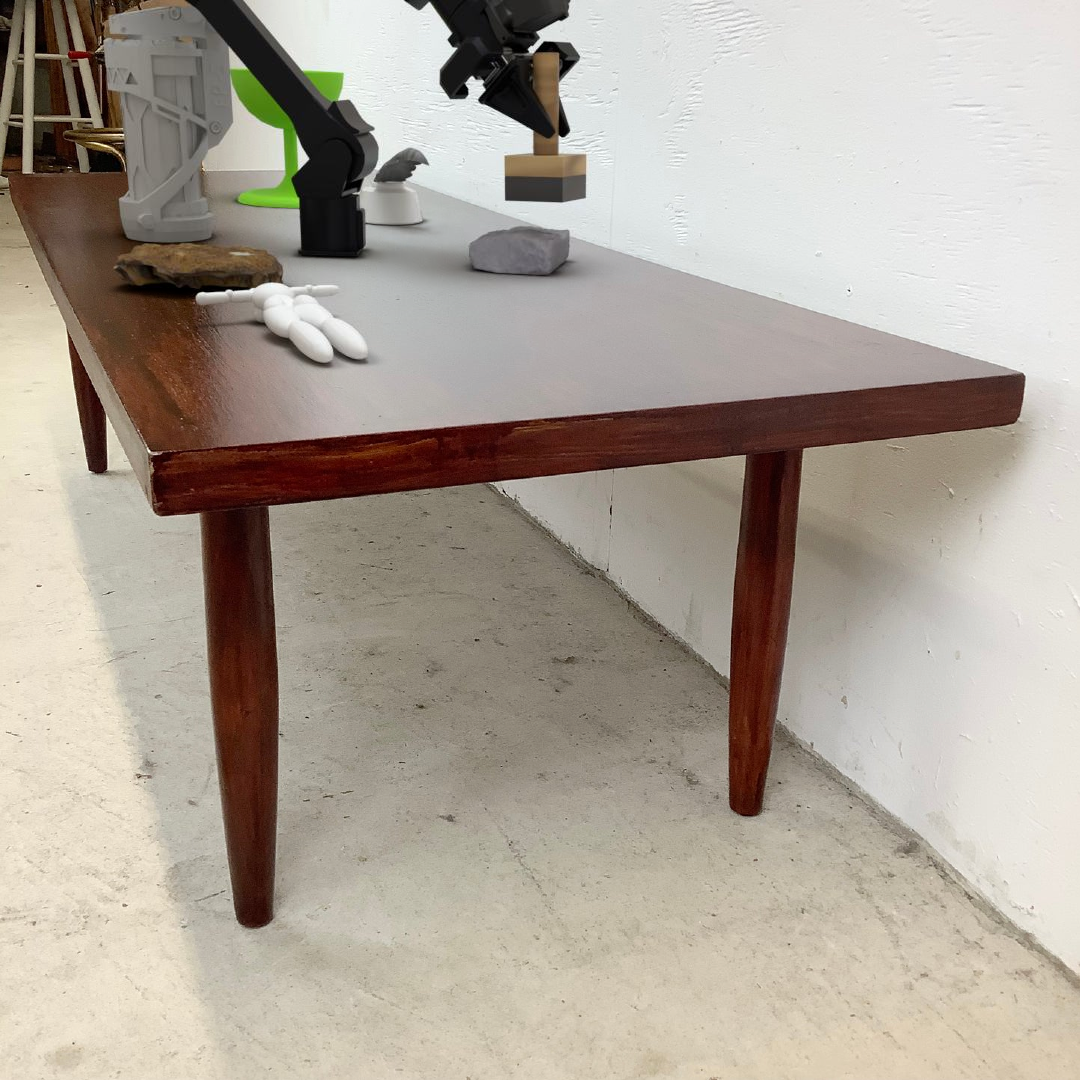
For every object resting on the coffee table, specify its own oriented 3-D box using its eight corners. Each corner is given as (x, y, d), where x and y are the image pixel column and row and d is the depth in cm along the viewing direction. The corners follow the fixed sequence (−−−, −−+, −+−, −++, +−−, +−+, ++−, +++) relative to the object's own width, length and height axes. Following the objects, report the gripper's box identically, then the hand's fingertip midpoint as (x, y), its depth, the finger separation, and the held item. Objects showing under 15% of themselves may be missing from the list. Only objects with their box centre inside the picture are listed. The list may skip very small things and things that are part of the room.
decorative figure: (422, 336, 85) (332, 268, 98) (262, 351, 79) (189, 276, 93) (420, 380, 87) (332, 307, 100) (263, 398, 81) (191, 318, 94)
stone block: (465, 287, 122) (557, 274, 120) (457, 240, 120) (550, 226, 118) (491, 273, 133) (576, 261, 131) (484, 230, 131) (570, 217, 129)
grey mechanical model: (135, 244, 130) (112, -2, 120) (113, 231, 138) (89, 0, 128) (248, 239, 136) (234, 5, 126) (220, 227, 144) (205, 7, 135)
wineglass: (337, 209, 165) (333, 73, 158) (225, 205, 165) (216, 69, 158) (355, 197, 180) (352, 72, 173) (252, 193, 180) (245, 68, 173)
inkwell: (405, 215, 162) (404, 139, 158) (466, 232, 148) (467, 150, 144) (343, 217, 157) (341, 139, 154) (400, 235, 143) (399, 151, 140)
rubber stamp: (562, 202, 116) (563, 51, 111) (504, 200, 118) (502, 52, 113) (586, 198, 121) (587, 53, 116) (530, 196, 124) (529, 54, 119)
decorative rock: (124, 306, 100) (294, 303, 107) (121, 259, 99) (294, 259, 105) (106, 276, 110) (264, 275, 116) (103, 232, 108) (264, 234, 114)
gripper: (467, -61, 105) (566, 77, 105) (568, -43, 120) (655, 78, 119) (398, 31, 112) (490, 160, 111) (502, 37, 127) (584, 151, 126)
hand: (559, 135), depth 117 cm, fingers closed on rubber stamp, 2 cm apart
